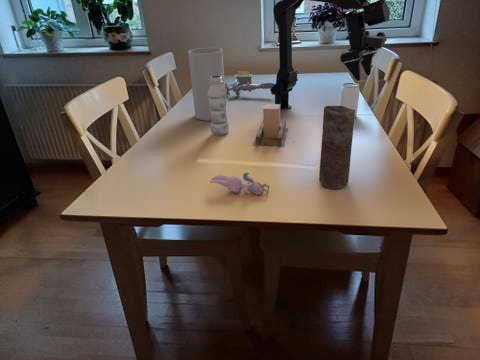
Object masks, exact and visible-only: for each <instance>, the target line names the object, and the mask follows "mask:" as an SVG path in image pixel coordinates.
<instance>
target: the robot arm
mask: <svg viewBox="0 0 480 360" xmlns="http://www.w3.org/2000/svg"><path fill="white" fill-rule="evenodd" d="M304 1H305V0H281V1H277V3H275V5H274V6H273V10H272V11H273V17H274V22H275V24H276V25H277V28H278V46H279V47H278V48H279V49H278V50H279V55H278V57H279V69H278V71H277V74H276V78H275V83H274V84H275V85H274V86H273V87H272V88H270V93H271V95H274V104H281V106H280V111H282V110H287V109H292V106H291V105H290V104H289V98H290V97H289V96H290V95H289V93H290V92H292V91H293V88H294V87H295V86H296V85H297V81H299V80H298V73H299V72H298V70H295V69H294V66H293V51H292V50H293V49H292V48H293V46H292V45H293V44H292V43H293V42H292V41H293V38H292V37H293V36H292V33H293V32H292V29H293V28H292V27H293V25H294V21H295V19H296V12H297V10H298V9H299V7H300V6H302V4H303V3H304ZM309 1H311V2H319V3H327V4H331V5H333V6H335V7H337V8H339V9H343V11H342V13H341V14H340V16H339V17H338V20H339V21H342V20H345V26H346V32H347V36H345V39H346V41H348V45H349V48H348V49H347V51H345V52H343V53H341V54H340V56H339V58H340V63H341V64H343V65H344V66H345V67H346V68H347V69H348V71H349V72H350V73H351V75H352V76H353V78H354V79H355V80H356V82H358V81H361V66H362V68H363V71H364V72H365V74H366V76H370V75H371V71H372V65H373V58H374V57H375V56H376V54H377V53H378V51H379V49H380V50H381V49H382V48H384V47H385V45H386V42H387V40H388V39H387V36H386V34H385V31H384V32H383V31H378V32H377V33H376V34H370V31H369V30H367V29H366V25H367V26H368V27H373V26H377V25H380V24H384V23H387V22H389V21H390V17H391V15H390V14H391V13H390V12H391V11H390V8H389V6H388V3H387V2H386V0H376V1H373V2H369V0H309ZM346 10H351V11H346ZM359 10H363V11H360V12H358V11H359Z"/></svg>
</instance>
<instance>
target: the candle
mask: <svg viewBox="0 0 480 360" xmlns="http://www.w3.org/2000/svg"><path fill="white" fill-rule="evenodd" d="M355 119H356V117H355V110H354V109H349V108H346V107H344V106H340V105H326V106H324V108H323V118H322V132H321V133H322V134H321V145H320V146H321V147H320V159H319V174H318V177H319V178H318V180H319V183H320V184H321V185H322V187H324V189H328V190H329V189H330V190H338V189H341V188H343V187H344V186H347V185H348V184H349V180H350V179H349V177H350V168H351V167H350V166H351V159H352V158H351V155H352V148H353V147H352V144H353V138H354V137H353V136H354V129H355Z"/></svg>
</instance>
